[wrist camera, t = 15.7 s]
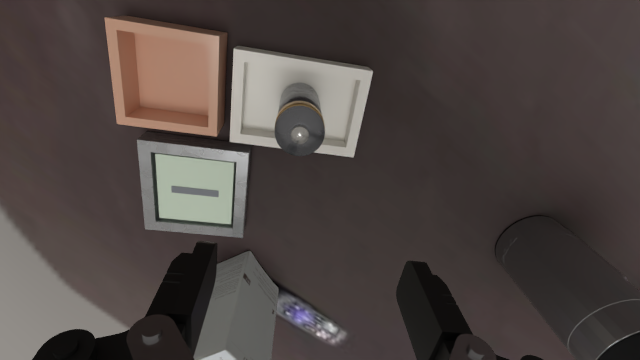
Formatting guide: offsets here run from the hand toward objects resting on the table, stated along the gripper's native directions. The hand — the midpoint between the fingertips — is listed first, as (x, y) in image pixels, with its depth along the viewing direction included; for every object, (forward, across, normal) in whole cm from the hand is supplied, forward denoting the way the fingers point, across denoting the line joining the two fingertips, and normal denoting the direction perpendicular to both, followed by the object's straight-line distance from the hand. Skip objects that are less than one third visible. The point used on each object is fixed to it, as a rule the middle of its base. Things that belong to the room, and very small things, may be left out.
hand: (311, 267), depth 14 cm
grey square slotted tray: (+24, +10, +10) cm, 28 cm away
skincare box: (+25, +4, +24) cm, 35 cm away
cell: (+24, 0, -1) cm, 24 cm away
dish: (+24, +12, -2) cm, 27 cm away
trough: (+24, 0, -1) cm, 24 cm away
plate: (+24, +10, +10) cm, 28 cm away
